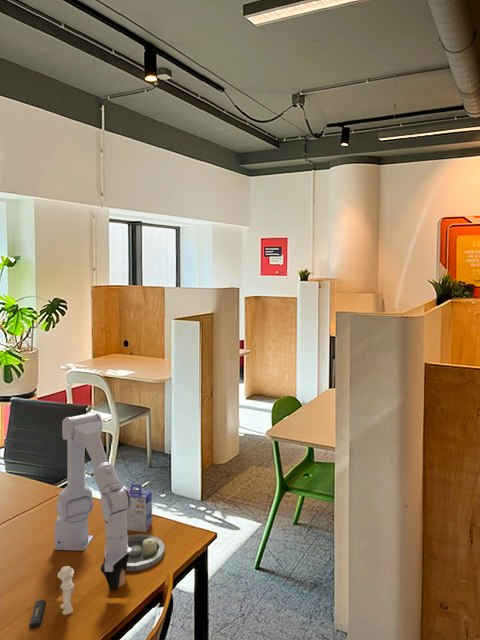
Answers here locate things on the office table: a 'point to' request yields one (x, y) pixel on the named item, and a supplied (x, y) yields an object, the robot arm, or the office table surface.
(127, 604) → the office table surface
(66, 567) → the hat wearing toy figure
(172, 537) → the office table surface
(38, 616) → the usb stick
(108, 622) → the office table surface
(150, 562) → the tray
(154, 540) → the bead olive
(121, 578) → the bead terracotta
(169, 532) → the office table surface
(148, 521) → the ink cartridge box
